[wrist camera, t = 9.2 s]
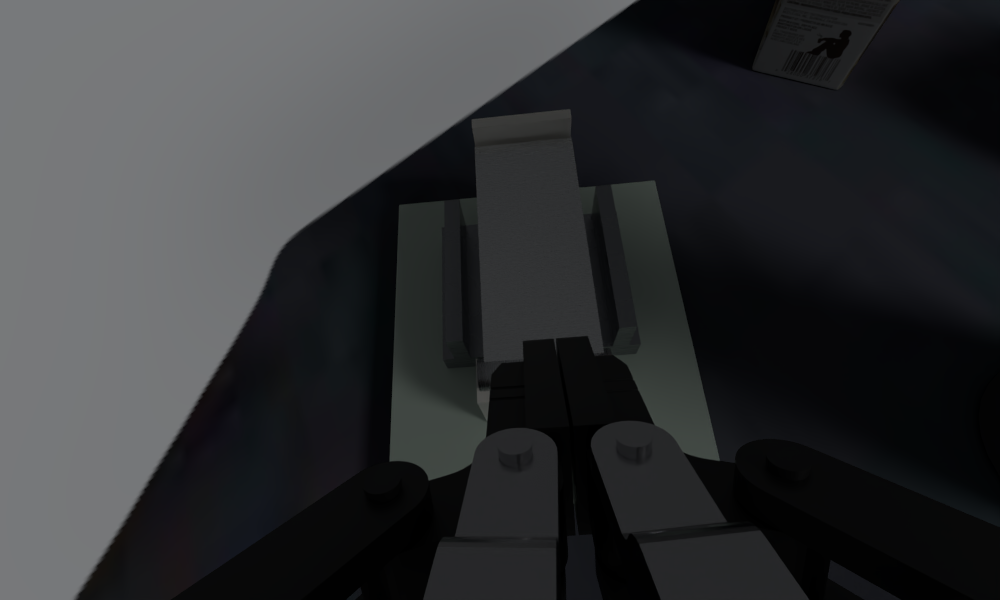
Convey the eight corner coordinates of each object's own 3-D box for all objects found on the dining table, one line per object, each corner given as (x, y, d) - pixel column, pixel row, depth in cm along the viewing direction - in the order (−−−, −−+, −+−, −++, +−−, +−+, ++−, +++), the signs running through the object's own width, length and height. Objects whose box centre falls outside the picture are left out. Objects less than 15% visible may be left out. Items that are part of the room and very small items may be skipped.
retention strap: (611, 385, 21) (575, 154, 27) (615, 376, 20) (577, 135, 25) (481, 395, 22) (472, 164, 27) (477, 386, 20) (468, 146, 26)
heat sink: (613, 225, 30) (622, 183, 26) (636, 353, 26) (650, 325, 23) (446, 241, 30) (433, 201, 27) (447, 368, 27) (432, 343, 23)
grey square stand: (648, 200, 33) (680, 97, 25) (713, 494, 25) (789, 478, 17) (407, 222, 33) (365, 130, 26) (398, 514, 26) (336, 507, 18)
